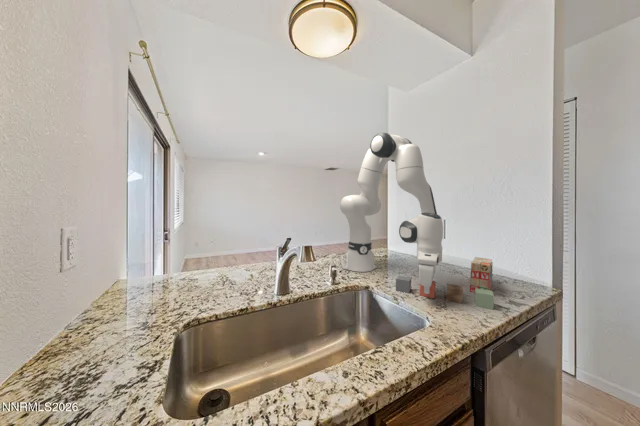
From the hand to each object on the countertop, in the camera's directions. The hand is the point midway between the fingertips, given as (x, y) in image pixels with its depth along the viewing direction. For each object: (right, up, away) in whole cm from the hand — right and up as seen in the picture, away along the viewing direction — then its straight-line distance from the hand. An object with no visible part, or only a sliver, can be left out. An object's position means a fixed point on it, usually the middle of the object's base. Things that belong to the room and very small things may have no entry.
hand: (427, 290), depth 92 cm
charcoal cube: (-8, -1, +4) cm, 9 cm away
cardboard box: (+28, -2, +10) cm, 30 cm away
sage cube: (+16, -3, -9) cm, 18 cm away
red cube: (0, -2, 0) cm, 2 cm away
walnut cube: (+8, -2, -4) cm, 9 cm away
